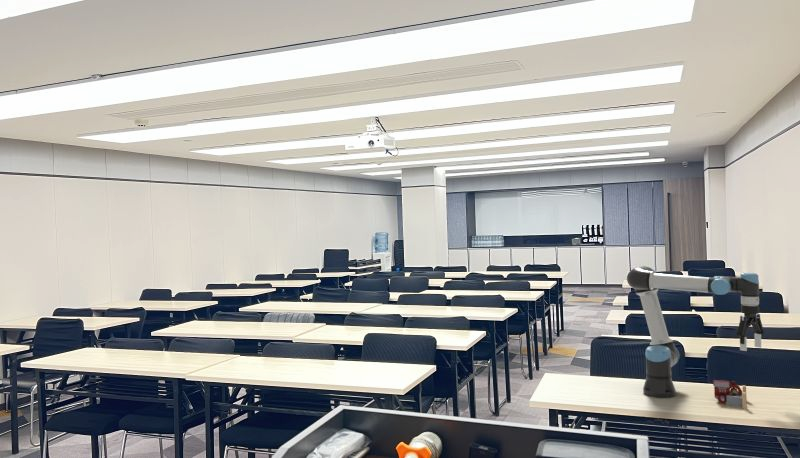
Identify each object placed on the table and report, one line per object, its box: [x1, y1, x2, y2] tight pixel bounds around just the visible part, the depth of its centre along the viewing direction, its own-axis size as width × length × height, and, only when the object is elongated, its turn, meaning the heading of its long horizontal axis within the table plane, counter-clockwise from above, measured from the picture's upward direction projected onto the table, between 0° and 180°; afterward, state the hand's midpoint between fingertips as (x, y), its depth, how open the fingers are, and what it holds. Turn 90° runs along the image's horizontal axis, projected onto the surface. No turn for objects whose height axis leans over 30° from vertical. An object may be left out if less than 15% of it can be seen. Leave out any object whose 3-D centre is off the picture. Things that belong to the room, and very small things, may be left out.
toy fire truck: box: [712, 379, 743, 405], centre depth 269 cm, size 7×12×10 cm, turn 64°
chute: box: [726, 385, 748, 410], centre depth 267 cm, size 8×15×7 cm, turn 148°
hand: (750, 348), depth 274 cm, fingers open, 13 cm apart
